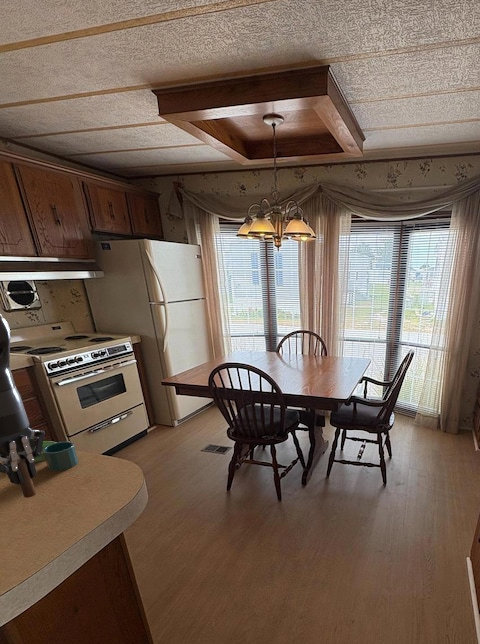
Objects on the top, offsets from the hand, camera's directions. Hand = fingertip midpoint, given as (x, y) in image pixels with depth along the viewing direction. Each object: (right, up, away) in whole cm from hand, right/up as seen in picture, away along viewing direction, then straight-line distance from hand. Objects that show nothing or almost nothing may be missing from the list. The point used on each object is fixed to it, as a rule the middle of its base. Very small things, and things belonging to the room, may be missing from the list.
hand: (24, 480), depth 77 cm
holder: (-11, -1, +26) cm, 28 cm away
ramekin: (-21, +1, +30) cm, 37 cm away
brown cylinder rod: (0, -4, +2) cm, 4 cm away
